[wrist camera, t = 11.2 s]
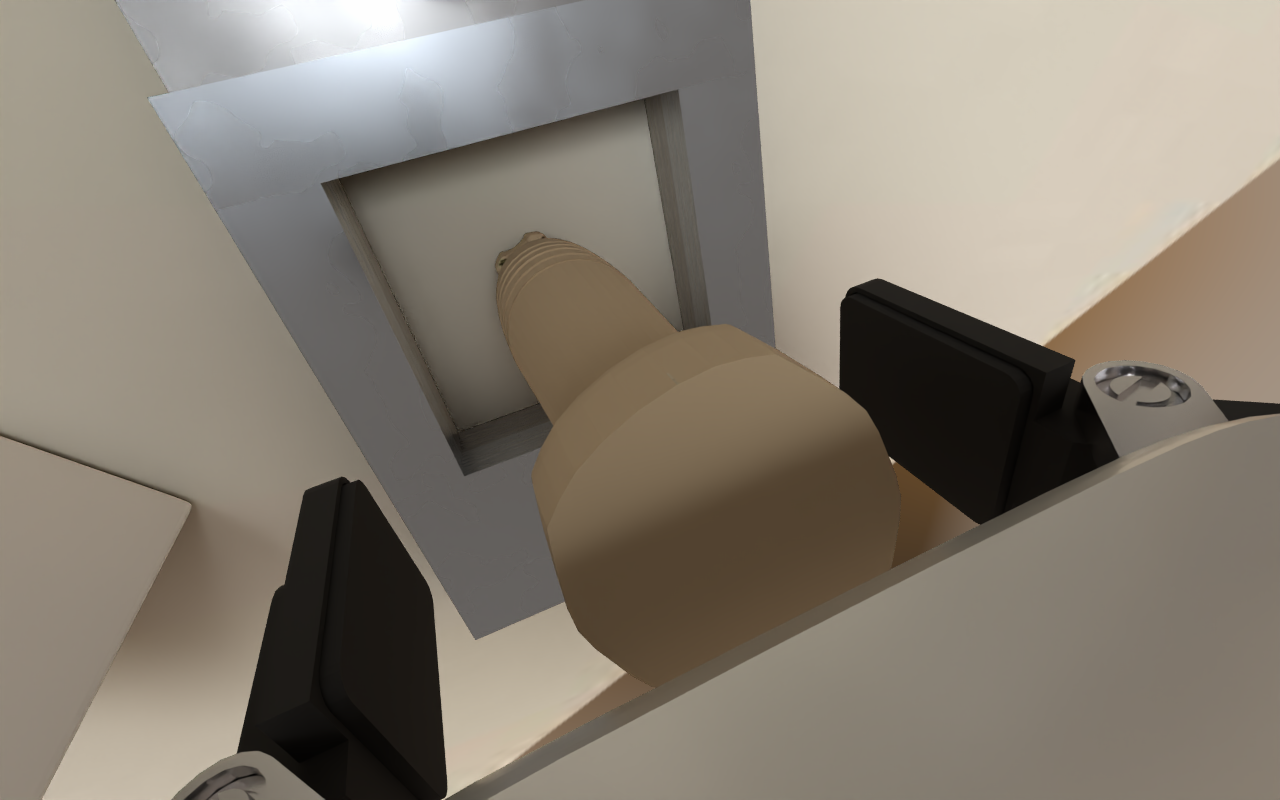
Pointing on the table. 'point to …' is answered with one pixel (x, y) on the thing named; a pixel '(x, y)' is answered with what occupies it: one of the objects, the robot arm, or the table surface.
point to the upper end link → (445, 119)
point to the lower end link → (337, 24)
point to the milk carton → (66, 597)
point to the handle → (685, 468)
